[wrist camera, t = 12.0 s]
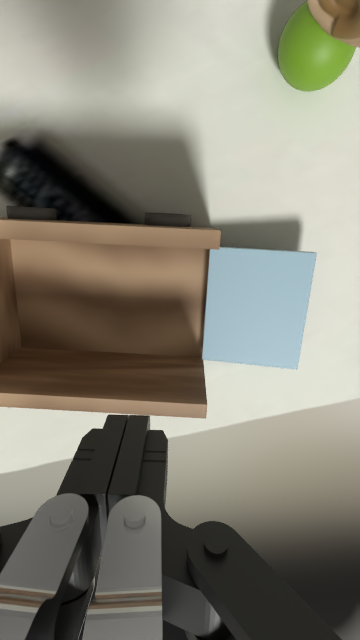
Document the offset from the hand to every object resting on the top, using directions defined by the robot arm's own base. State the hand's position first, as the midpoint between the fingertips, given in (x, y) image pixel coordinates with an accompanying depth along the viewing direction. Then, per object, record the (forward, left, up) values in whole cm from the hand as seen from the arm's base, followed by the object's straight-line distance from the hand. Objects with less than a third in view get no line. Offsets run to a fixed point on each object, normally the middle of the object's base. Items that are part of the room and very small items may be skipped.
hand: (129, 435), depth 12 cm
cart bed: (0, -6, -22) cm, 22 cm away
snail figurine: (-20, +11, -22) cm, 32 cm away
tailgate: (0, +4, -20) cm, 21 cm away
